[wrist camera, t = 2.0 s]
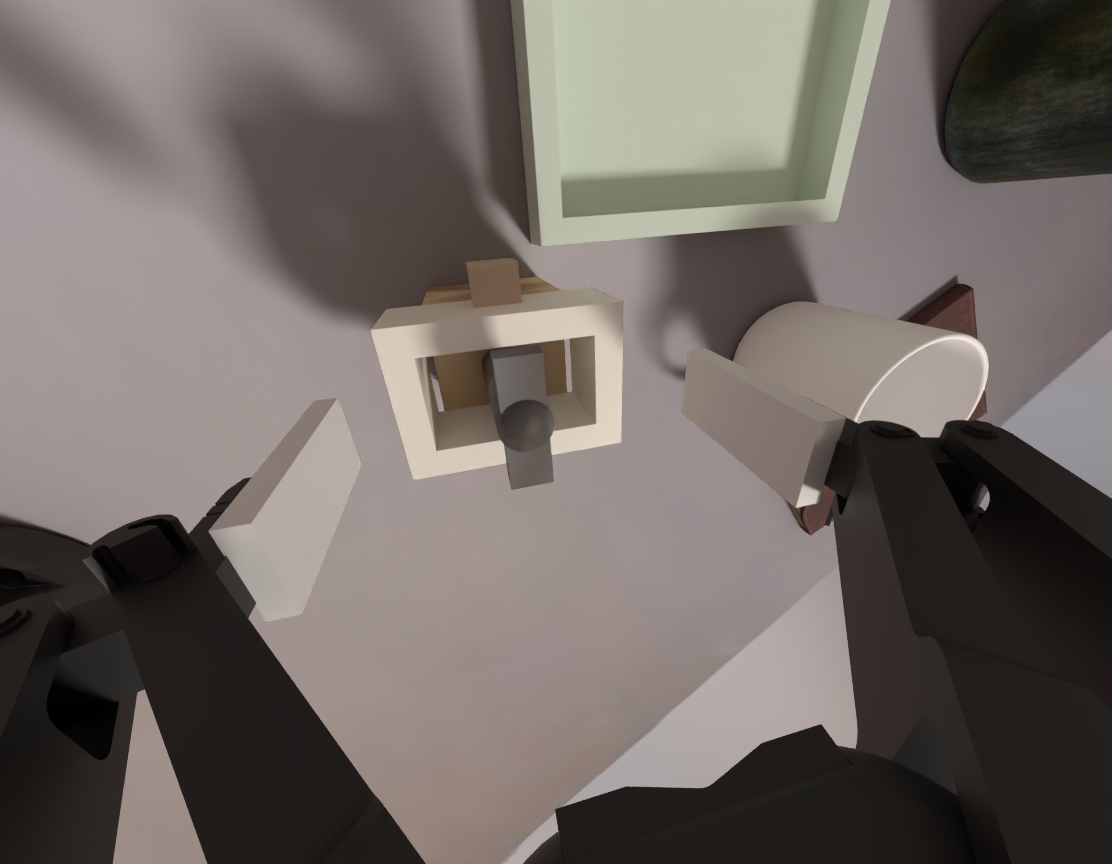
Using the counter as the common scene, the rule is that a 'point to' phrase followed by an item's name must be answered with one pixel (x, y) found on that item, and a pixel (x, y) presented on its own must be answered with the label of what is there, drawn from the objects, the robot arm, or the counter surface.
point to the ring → (499, 323)
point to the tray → (689, 112)
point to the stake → (508, 388)
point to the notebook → (942, 313)
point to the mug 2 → (1035, 94)
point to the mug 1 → (868, 364)
